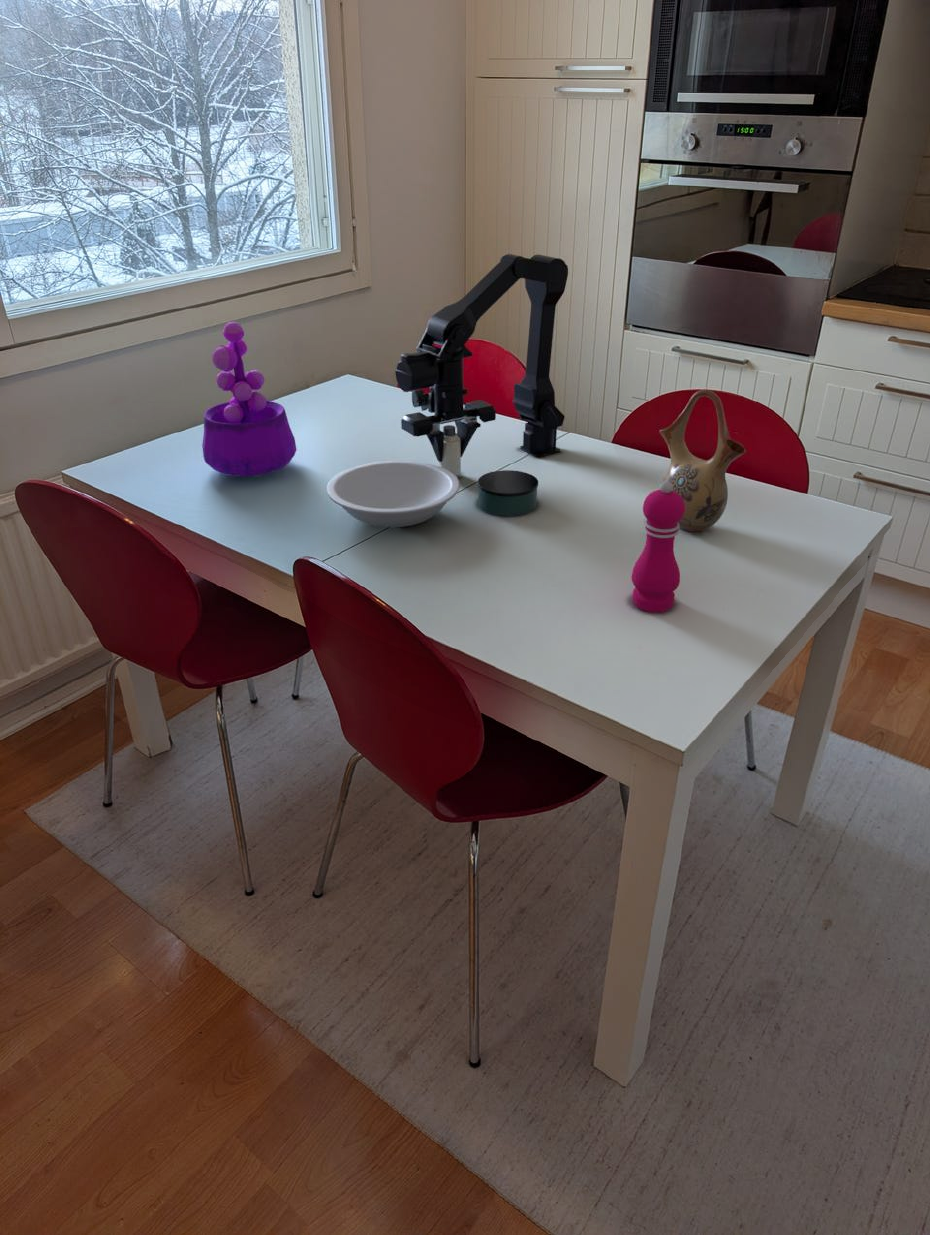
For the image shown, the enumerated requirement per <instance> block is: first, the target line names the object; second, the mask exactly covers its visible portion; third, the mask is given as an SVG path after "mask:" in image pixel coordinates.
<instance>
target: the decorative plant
mask: <svg viewBox="0 0 930 1235" xmlns="http://www.w3.org/2000/svg"><path fill="white" fill-rule="evenodd" d="M222 335H223V337H224V339H226V341H228V344H227V345H224V344H223V345H222V344H221V345H219V347H217V348H216V349H214V351H213V352H212V355H211V358H212V360H211V361H212V363H213V366H215V368H216V369H218V370H220V372H219V373H218V374H217V375H216V380H215V382H216V385H217V386H218V388H219V389H220V390H222V391H223V392H224V391H225V392H229V391H230V393H232V395H233V397H232V398H231V399H230V400H229V401H227V402H223V403H222V402H221V403H219V404H217V405H214V406H211V407H210V408H209V409H207V410H206V411H205V412H204V415H203V437H202V443H201V446H202V456H203V460H204V462H205V463H206V465H208V466H209V467H210V468H211V469H213V470H214V471H216V472H218V473H219V474H224V475H227V476H234V477H258V476H263V475H267V474H270V473H273V472H276V471H279V470H280V469H283V468H284V467H286V466H287V465H289V464H290V462H291V461H292V460H293V458H295V456H296V452H297V450H298V449H297V445H296V438H295V435H294V433H293V431H292V428H291V427H290V423H289V419H288V416H287V413H286V409H285V407H284V406H283V405H282V404H281V403H278V402H275V401H271V400H267V398H266V396H265V395H264V394H263V393H261V392H258V390H260V389H262V387H263V386H264V384H265V382H266V381H265V376H264V375H263V373H262V372H261V371H259V370H258V369H257V370H256V369H253V370H248V371H247V372H246V373H245V367H244V366H245V365H244V361H243V356H244V355H246V353H247V352H248V345H247V343H246V342H245V341H244V340H243V338H244V337H245V330H244V328H243V327H242V326H241V324H240V323H238V322H237V321H229V322H227V323H226V324H225V325H224V328H223V331H222ZM232 371H233V372H232Z"/></svg>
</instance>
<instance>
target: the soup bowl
mask: <svg viewBox="0 0 930 1235" xmlns="http://www.w3.org/2000/svg"><path fill="white" fill-rule="evenodd" d="M460 486H461V483H460V480H459V478H458V477H457V475H454V474H453V473H452V472H450V471H448V470H446V469H444V468H442V467H439V465H436V464H432V463H428V462H421V461H413V460H383V461H382V460H381V461H375V462H368V463H364V464H359V465H357V466H353V467H349V468H347V469H345V470H343V471H341V472H339V473H337V474H336V475H334V476H333V477H332V478H331V479H330V480H329V482H328V483H327V486H326V494H327V496H328V497H329V499H330V500H331V501H332V502H333V503H335V504H337V505H338V506H340V507H341V508H342V509H343V510H344V511H345V512H346V513H347V514H349V515H350V517H353V518H354V519H355V520H356V521H357V520H358V521H359V522H362V523H364V524H367V525H370V526H374V527H381V528H404V527H409V526H415V525H417V524H420V523H423V522H425V521H427V520H429V519H431V518H433V517H434V516H435V515H436V514H438V513H439V512H440V511H441V510H443V508H444V506H445V505H446V504H447V503H448V502H449V501H450V500H452V499H453V498H454V497H456V495H457V494H458V493H459V490H460Z"/></svg>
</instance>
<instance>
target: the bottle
mask: <svg viewBox="0 0 930 1235" xmlns="http://www.w3.org/2000/svg"><path fill="white" fill-rule="evenodd" d="M442 432H444V444H443V458H442V462H439V461H438V466H439V467H442V468H444V469H446V470H448V471H450V472H452V473H453V474H454V475H455V476H458V475H460V474H461V472H462V463H461V462H462V460H461V458H462V457H461V444H460V438H459V437H457V432H456V425H452V424H451V425H450V424H448V425H447V424H446V425H444V426H442Z"/></svg>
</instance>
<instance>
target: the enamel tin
mask: <svg viewBox="0 0 930 1235" xmlns="http://www.w3.org/2000/svg"><path fill="white" fill-rule="evenodd" d="M477 487H478V506H479V508H480V509H481V511H483V512H485V513H487V514H490V515H494V516H499V517H500V516H501V517H517V516H522V515H526V514H529V513H531V512H533V511H534V510H536V507H537V500H538V487H539V479H538V478H537V477H536V476H535V475H533V474H531V473H528V472H524V471H519V470H510V469H508V470H507V469H505V470H495V471H490V472H487V473H484V474H483V475H481V476H480V477H479V478H478V480H477Z"/></svg>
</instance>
